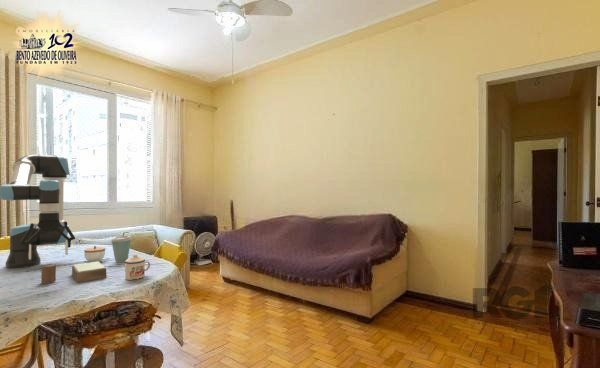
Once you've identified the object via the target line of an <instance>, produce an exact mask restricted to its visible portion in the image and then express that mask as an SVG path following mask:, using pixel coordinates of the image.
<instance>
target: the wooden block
mask: <svg viewBox="0 0 600 368" xmlns="http://www.w3.org/2000/svg"><path fill="white" fill-rule="evenodd" d="M40 272H41V280H40V281H41V283H42V284H51V283H53V282H56V279H57V278H56V277H57V276H56V274H57V269H56V264H46V265H42V266H41V271H40Z"/></svg>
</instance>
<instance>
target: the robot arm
mask: <svg viewBox="0 0 600 368" xmlns="http://www.w3.org/2000/svg"><path fill="white" fill-rule="evenodd" d="M11 168H12V174H11V177H10V179H9V182H8V183H7V184H1V185H0V200H2V201H35V200H36V201H37V200H38V201H39V202H38V203H39V204H38V207H39V208H38V211H39V213H38V222H37V223H32V222H31V223H27V224H23V225H16V226H14V227H12V228H10V231H9V233H10V234H9V238H10V239H9V254H8V257H7V259H6V261H5V265H4V266H5V268H6V269H19V268H27V267H32V266H36V265H37V266H38V265H39V264H41V262H42V261H41V257H40V255H39V253H38V246H47V245H48V246H49V245H59V244H65V246H64V248H65V249H64V250H65V251H64V253H65V256H68V255H69V248H71V246H72V245H71V241H73V240H75V239H76V237H75V235H74V234H73V232H72V230H71V229H70V224H68V222H67V221H66V220H65V219H64V183H65V182H64V181H65V180H66V179H67V178H68V177H67V176H70V174H71V173H70V167H69V161H68V158H67V157H66V156H65V155H58V154H57V155H54V154H52V155H51V154H38V153H37V154H36V153H35V154H34V153H33V154H28V155H24V156H22V157H21V158H18V159H17V160H15V162H14V163H13V164H12V167H11ZM33 175H41V178H42V179H43V180H40V181H39V184H30V183H31V179H32V176H33ZM68 234H69V236H70V237H69V236H68Z"/></svg>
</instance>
